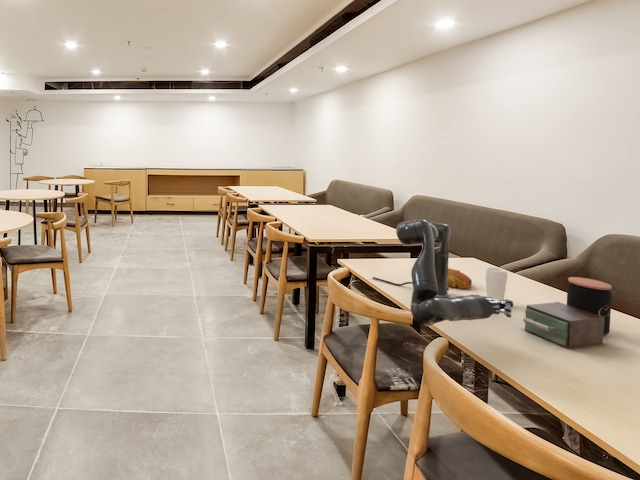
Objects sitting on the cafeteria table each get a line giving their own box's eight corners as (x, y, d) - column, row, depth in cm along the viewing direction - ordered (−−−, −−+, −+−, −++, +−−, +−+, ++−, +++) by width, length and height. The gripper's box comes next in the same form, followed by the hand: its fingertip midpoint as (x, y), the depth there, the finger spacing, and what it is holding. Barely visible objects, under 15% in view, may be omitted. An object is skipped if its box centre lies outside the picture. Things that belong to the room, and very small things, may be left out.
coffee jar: (604, 339, 129) (607, 289, 128) (561, 325, 138) (563, 279, 138) (613, 332, 134) (616, 284, 133) (571, 319, 143) (573, 275, 142)
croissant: (428, 285, 184) (427, 270, 183) (445, 276, 190) (444, 262, 189) (461, 295, 170) (460, 279, 170) (479, 285, 177) (478, 269, 176)
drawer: (554, 347, 122) (556, 324, 121) (515, 330, 133) (516, 309, 133) (596, 341, 125) (597, 319, 125) (554, 325, 137) (555, 305, 136)
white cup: (509, 307, 154) (511, 272, 154) (491, 305, 155) (492, 271, 155) (498, 300, 161) (499, 267, 160) (480, 299, 162) (482, 266, 162)
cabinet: (569, 348, 122) (570, 321, 122) (525, 330, 135) (526, 305, 134) (603, 344, 125) (604, 317, 125) (556, 326, 138) (558, 301, 137)
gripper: (492, 305, 114) (534, 300, 118) (450, 288, 127) (489, 285, 131) (491, 328, 115) (533, 323, 118) (450, 309, 128) (489, 305, 131)
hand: (510, 303), depth 125 cm, fingers closed
